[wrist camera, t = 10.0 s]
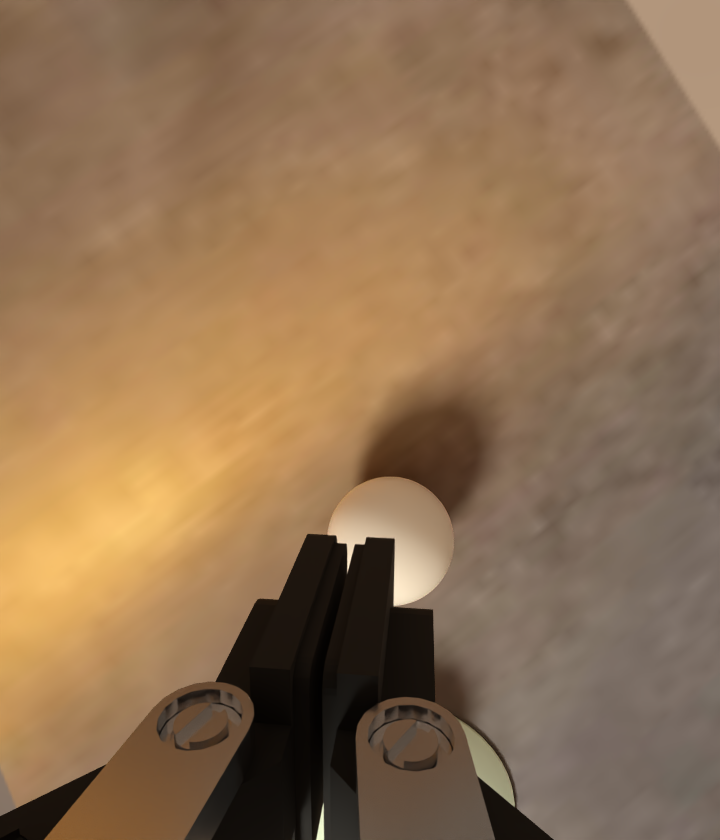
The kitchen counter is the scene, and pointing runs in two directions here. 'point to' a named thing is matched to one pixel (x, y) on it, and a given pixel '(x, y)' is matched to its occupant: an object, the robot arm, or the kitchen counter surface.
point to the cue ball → (399, 531)
